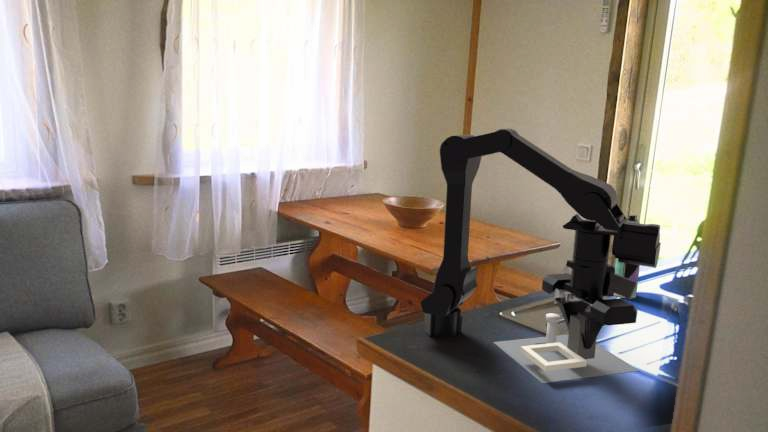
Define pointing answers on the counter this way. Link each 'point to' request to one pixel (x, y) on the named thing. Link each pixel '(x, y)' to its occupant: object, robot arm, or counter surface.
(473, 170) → the robot arm
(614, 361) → the hook board
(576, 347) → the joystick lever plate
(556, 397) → the counter surface
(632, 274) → the spray can
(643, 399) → the counter surface
